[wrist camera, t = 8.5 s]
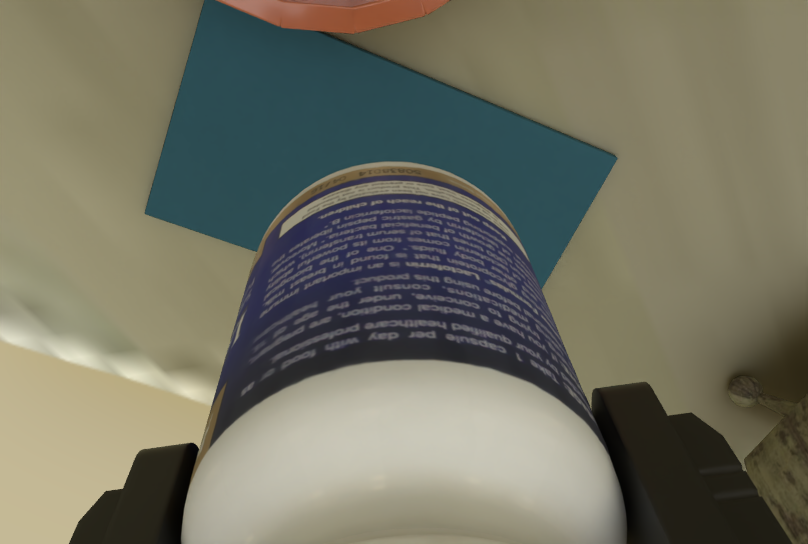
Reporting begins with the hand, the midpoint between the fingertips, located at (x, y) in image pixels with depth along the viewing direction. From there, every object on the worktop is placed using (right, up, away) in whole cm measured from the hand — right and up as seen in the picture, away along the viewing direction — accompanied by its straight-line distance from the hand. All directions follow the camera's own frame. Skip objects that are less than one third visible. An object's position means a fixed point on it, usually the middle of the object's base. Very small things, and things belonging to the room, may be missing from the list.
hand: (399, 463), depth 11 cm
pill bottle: (0, +3, +5) cm, 6 cm away
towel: (-1, +7, +21) cm, 22 cm away
